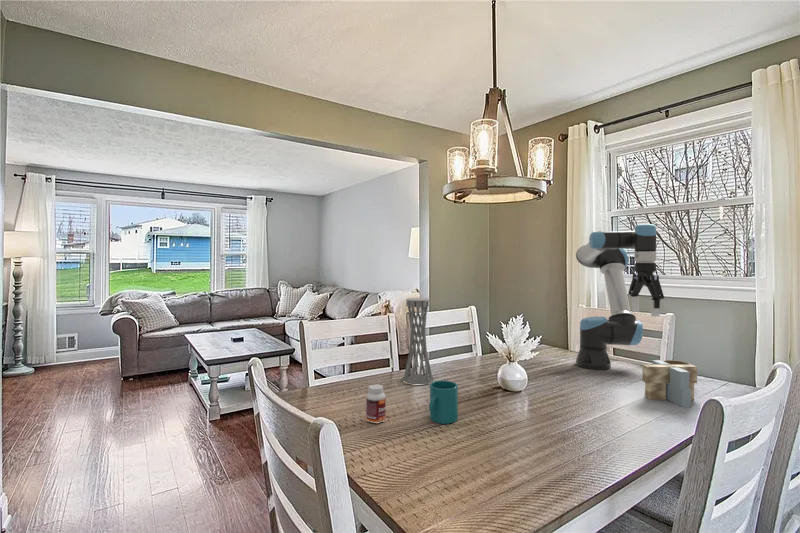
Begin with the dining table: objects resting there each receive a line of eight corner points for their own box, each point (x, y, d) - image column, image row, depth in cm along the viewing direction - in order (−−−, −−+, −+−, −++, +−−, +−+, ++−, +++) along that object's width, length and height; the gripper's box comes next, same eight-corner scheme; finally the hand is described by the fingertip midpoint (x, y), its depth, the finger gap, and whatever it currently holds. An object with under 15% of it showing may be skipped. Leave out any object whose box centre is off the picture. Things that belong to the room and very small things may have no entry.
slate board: (650, 390, 157) (650, 359, 157) (658, 390, 157) (658, 359, 157) (682, 407, 139) (682, 372, 139) (691, 407, 139) (691, 372, 139)
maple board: (647, 399, 147) (647, 366, 146) (642, 396, 150) (642, 364, 149) (696, 399, 146) (697, 366, 146) (690, 396, 149) (691, 364, 149)
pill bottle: (381, 425, 125) (381, 390, 125) (363, 423, 127) (363, 388, 127) (388, 418, 131) (388, 384, 131) (370, 415, 133) (370, 382, 133)
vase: (439, 379, 173) (439, 298, 172) (424, 387, 162) (424, 301, 161) (412, 374, 180) (412, 296, 180) (396, 382, 169) (395, 299, 168)
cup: (418, 422, 127) (418, 387, 127) (440, 411, 136) (440, 378, 136) (442, 430, 121) (442, 393, 121) (463, 418, 131) (463, 384, 130)
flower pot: (681, 380, 169) (682, 360, 169) (696, 387, 160) (696, 366, 159) (658, 380, 170) (658, 359, 170) (670, 387, 161) (670, 365, 160)
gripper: (619, 262, 177) (619, 310, 177) (655, 262, 152) (654, 318, 152) (636, 262, 176) (636, 310, 177) (675, 262, 151) (674, 318, 152)
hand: (645, 314), depth 164 cm, fingers open, 13 cm apart
